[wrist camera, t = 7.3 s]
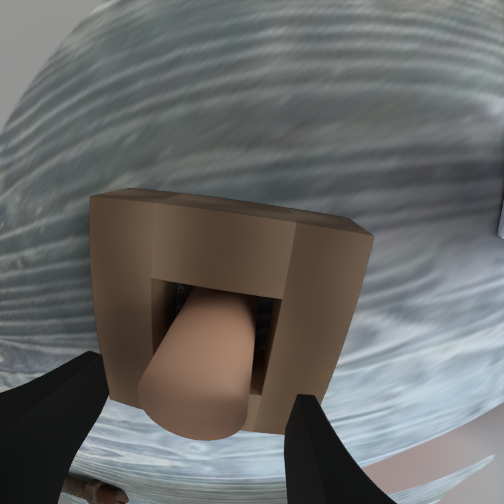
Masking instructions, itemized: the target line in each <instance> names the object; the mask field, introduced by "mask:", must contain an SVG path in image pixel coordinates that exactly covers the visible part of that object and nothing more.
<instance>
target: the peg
mask: <svg viewBox="0 0 504 504" xmlns="http://www.w3.org/2000/svg"><path fill="white" fill-rule="evenodd" d="M257 310H258V306H257V300H256V298H255V295H250V294H243V293H237V292H230V291H224V290H218V289H212V288H206V287H200V286H195V287H194V288H193V290H192V292H191V293H190V295H189V297H188V298H187V300H186V302H185V303H184V305H183V307H182V308H181V310H180V312H179V313H178V315H177V317H176V318H175V320H174V322H173V324H172V325H171V327H170V329H169V330H168V332H167V334H166V336H165V337H164V339H163V341H162V342H161V344H160V346H159V348H158V349H157V351H156V353H155V355H154V356H153V358H152V360H151V362H150V363H149V365H148V367H147V369H146V370H145V372H144V374H143V376H142V377H141V379H140V381H139V384H138V387H137V395H138V400H139V402H140V405H141V406H142V408H143V410H144V411H145V412H146V414H147V415H148V416H149V417H150V418H151V419H152V420H153V421H154V422H155V423H157V424H158V425H159V426H161V427H163V428H164V429H166V430H168V431H170V432H172V433H174V434H176V435H179V436H182V437H185V438H189V439H194V440H205V441H210V440H219V439H223V438H227V437H229V436H232V435H233V434H235V433H237V432H238V431H239V430H240V429H241V428H242V427H243V426H244V424H245V422H246V419H247V412H248V403H249V393H250V383H251V373H252V363H253V352H254V342H255V332H256V321H257Z"/></svg>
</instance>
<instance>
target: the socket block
mask: <svg viewBox="0 0 504 504" xmlns="http://www.w3.org/2000/svg"><path fill="white" fill-rule="evenodd" d="M89 238H90V266H91V282H92V294H93V304H94V313H95V321H96V329H97V336H98V342H99V349H100V354H101V355H102V356H103V362H104V367H105V372H106V377H107V382H108V387H109V391H110V393H109V398H110V399H111V400H114V401H117V402H120V403H123V404H126V405H129V406H133V407H136V408H139V409H143V408H142V406H141V405H140V402H139V400H138V395H137V387H138V384H139V381H140V379H141V377H142V376H143V374H144V372H145V370H146V369H147V367H148V365H149V363H150V362H151V360H152V358H153V356H154V355H155V353H156V351H157V349H158V348H159V346H160V344H161V342H162V341H163V339H164V337H165V336H166V334H167V332H168V330H169V329H170V327H171V325H172V324H173V322H174V320H175V304H176V282H177V283H182V284H188V285H194V286H200V287H206V288H212V289H218V290H224V291H230V292H237V293H243V294H250V295H256V296H263V297H270V298H274V300H273V306H272V311H271V316H270V321H269V326H268V332H267V337H266V342H265V347H264V351H257V350H254V352H253V363H252V373H251V383H250V393H249V403H248V412H247V419H246V422H245V424H244V426H243V427H242V428H241V429H240V430H243V431H251V432H260V433H270V434H281V435H285V428H286V425H287V422H288V419H289V416H290V414H291V411H292V408H293V405H294V402H295V399H296V396H297V394H307V395H315V397H316V398H317V400H318V402H319V404H320V405H321V403H322V400H323V398H324V395H325V393H326V390H327V388H328V385H329V383H330V380H331V377H332V375H333V372H334V370H335V367H336V364H337V361H338V359H339V356H340V353H341V350H342V347H343V344H344V341H345V339H346V336H347V333H348V329H349V326H350V323H351V320H352V317H353V314H354V310H355V307H356V304H357V300H358V297H359V294H360V290H361V286H362V283H363V279H364V276H365V272H366V268H367V264H368V260H369V256H370V252H371V248H372V244H373V239H374V236H373V235H372V234H371V233H369V232H368V231H366V230H365V229H364V228H362V227H361V226H359V225H358V224H356V223H355V222H354V221H352V220H351V219H349V218H345V217H339V216H334V215H328V214H322V213H317V212H311V211H305V210H299V209H293V208H286V207H280V206H274V205H267V204H260V203H253V202H246V201H239V200H232V199H224V198H217V197H209V196H201V195H192V194H184V193H175V192H165V191H156V190H146V189H135V188H127V189H122V190H117V191H112V192H108V193H103V194H99V195H94V196H90V213H89Z"/></svg>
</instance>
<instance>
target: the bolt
mask: <svg viewBox="0 0 504 504" xmlns="http://www.w3.org/2000/svg"><path fill="white" fill-rule="evenodd" d="M61 492H65V493H68V494H71V495H73V496H76V497H79V498H83V499H86V500H87V502H88V503H89V504H125V503H127V502H129V499H128V497H127V495H126V494H125V493H124V492H123V491H121V490H117V489H113V488H109V487H108V486H107V485H106V484H105V483H103V482H102V481H99V480H95V479H93V480H91V481H89V482H86V481H83V480H79V479H76V478H73V477H70V476H66V478H65V481H64V484H63V487H62V490H61Z"/></svg>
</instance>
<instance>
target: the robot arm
mask: <svg viewBox="0 0 504 504" xmlns="http://www.w3.org/2000/svg"><path fill="white" fill-rule="evenodd" d="M498 236H499V237H500V238H502V239H504V202H503V208H502V213H501V218H500V223H499V228H498ZM109 393H110V391H109V387H108V382H107V377H106V372H105V367H104V362H103V356H102V355H101V354H98V353H95V352H92V351H87V352H85V353H83V354H81V355H80V356H78V357H76V358H74V359H72V360H71V361H69V362H67V363H65V364H63V365H62V366H60V367H58V368H56V369H54V370H52V371H50V372H49V373H47V374H45V375H43V376H41V377H38V378H36V379H34V380H32V381H30V382H28V383H26V384H23V385H21V386H18V387H16V388H13V389H10V390H7V391H4V392H1V393H0V504H58V500H59V496H60V493H61V490H62V487H63V484H64V481H65V478H66V476H67V473H68V471H69V468H70V466H71V464H72V461H73V459H74V457H75V455H76V453H77V451H78V450H79V448H80V446H81V445H82V443H83V441H84V440H85V438H86V437H87V435H88V433H89V432H90V430H91V428H92V427H93V425H94V424H95V422H96V420H97V419H98V417H99V415H100V414H101V412H102V409H103V407H104V405H105V403H106V400H107V398H108V396H109ZM284 460H285V474H286V487H287V500H288V504H397V503H396V502H394V501H393V500H392V499H391V498H390V497H388V496H387V495H386V494H385V493H384V492H383V491H382V490H380V489H379V488H378V487H377V486H376V485H375V484H374V483H373V482H372V480H370V478H369V477H368V476H367V475H366V474H365V473H364V472H363V470H362V469H361V468H360V467H359V466H358V464H357V463H356V462H355V460H354V459H353V458H352V456H351V455H350V454H349V452H348V451H347V449H346V448H345V447H344V445H343V444H342V442H341V440H340V439H339V437H338V436H337V434H336V433H335V431H334V429H333V428H332V426H331V424H330V422H329V421H328V419H327V417H326V415H325V413H324V412H323V410H322V408H321V406H320V404H319V402H318V400H317V398H316V397H315V395H307V394H297V396H296V399H295V402H294V405H293V408H292V411H291V414H290V416H289V419H288V422H287V425H286V428H285V440H284Z"/></svg>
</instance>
